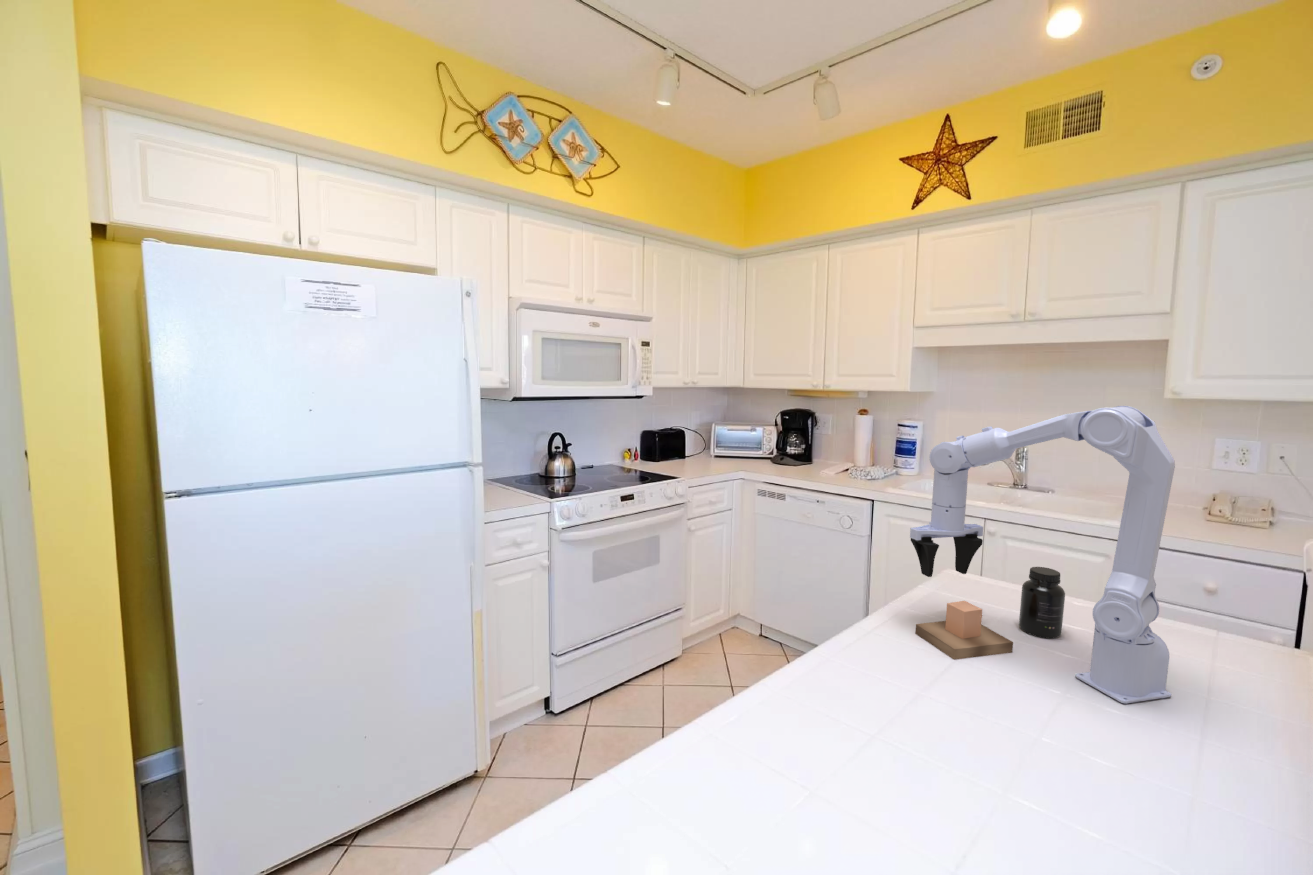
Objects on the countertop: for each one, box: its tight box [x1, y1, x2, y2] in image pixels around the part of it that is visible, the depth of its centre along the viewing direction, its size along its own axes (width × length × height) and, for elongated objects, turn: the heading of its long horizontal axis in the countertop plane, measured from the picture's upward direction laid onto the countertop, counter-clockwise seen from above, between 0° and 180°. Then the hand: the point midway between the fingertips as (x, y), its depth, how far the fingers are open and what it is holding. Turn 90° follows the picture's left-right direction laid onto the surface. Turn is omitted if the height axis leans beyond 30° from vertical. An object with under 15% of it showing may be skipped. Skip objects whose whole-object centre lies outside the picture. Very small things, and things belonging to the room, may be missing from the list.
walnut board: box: [915, 620, 1014, 661], centre depth 105 cm, size 12×10×2 cm
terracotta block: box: [945, 600, 983, 639], centre depth 104 cm, size 4×4×5 cm
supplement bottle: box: [1018, 566, 1066, 639], centre depth 109 cm, size 7×7×12 cm
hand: (943, 573), depth 111 cm, fingers open, 7 cm apart
